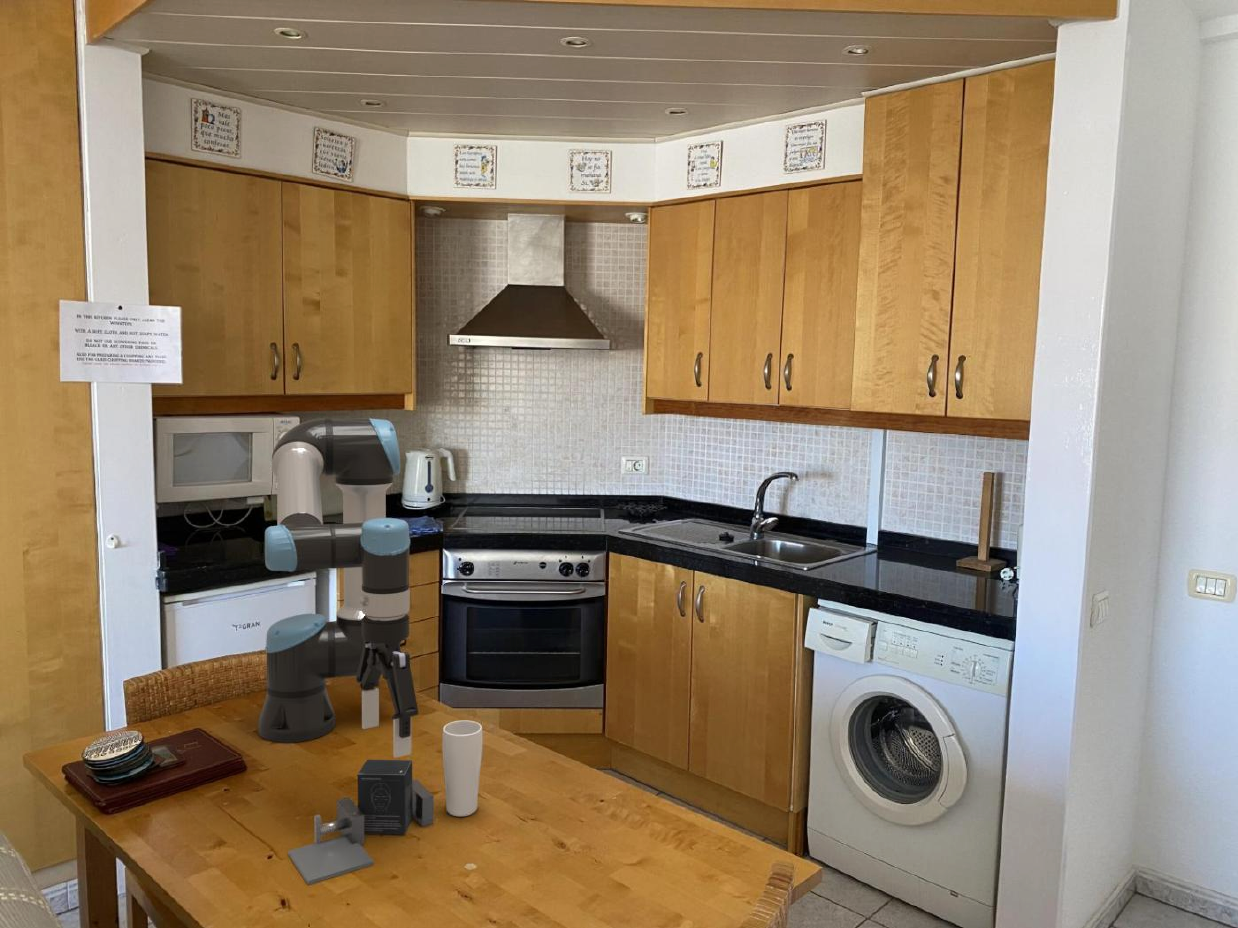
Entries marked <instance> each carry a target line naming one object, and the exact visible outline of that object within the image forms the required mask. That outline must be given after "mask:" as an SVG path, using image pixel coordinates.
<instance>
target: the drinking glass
mask: <svg viewBox="0 0 1238 928" xmlns="http://www.w3.org/2000/svg"><path fill="white" fill-rule="evenodd" d="M441 744H442V761H443V762H442V763H443V774H444V785H445V798H446V799H445V807H446V811H447V813H448V814H449V815H450V816H453V817H468V816H470V815H473V814H474V813H476V811H477V809H478V804H479V803H478V802H479V801H478V797H479V796H478V795H479V785H480V776H481V775H480V774H481V768H482V767H481V766H482V765H481V764H482V756H483V726H482V725H481V724H480V723H479V722H476V721H474V720H466V719H465V720H461V719H460V720H456V721H451V722H449V723H447V724H445V725H444V726H443V728H442V743H441Z"/></svg>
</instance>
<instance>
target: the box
mask: <svg viewBox="0 0 1238 928" xmlns="http://www.w3.org/2000/svg"><path fill="white" fill-rule="evenodd" d="M412 780H413V760H411V759H410V760H409V759H404V760H403V759H366V761H365V762H364V763H363V765H362V767H361V768H360V769H359V772H357V807H358V808H359V809H360V810H361V812H362V813H363V814H364V835H365V834H367V835H368V834H369V835H405V834H406V833H407V832H408V829H409V827H410V825H411V822H413V819H414V818H413V798H412V797H413V796H412Z"/></svg>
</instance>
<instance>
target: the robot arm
mask: <svg viewBox="0 0 1238 928" xmlns="http://www.w3.org/2000/svg"><path fill="white" fill-rule="evenodd" d="M271 469H272V472H273V474H274V476H275V478H277V480H276V482H277V486H276V487H277V492H276V493H277V495H276V497H277V498H276V500H277V502H276V504H277V508H276V509H277V513H276V515H277V516H276V522H277V525H273V526H272V525H271V526H269V527H267V528H266V529H265V531H264V561H265V562H264V563H265V567H266V568H267V570H270V571H271V572H272V571H273V572H279V571H281V572H282V571H283V572H290V573H291V572H296V571H310V570H311V571H312V570H313V571H314V570H325V569H326V570H328V569H330V570H331V569H343V605H342V606H341V607H340V608H339V609H338V610H337V611H336V613H335V614H336V620H335V621H327V619H326V617H325V615H323V614H321V613H302V614H298V615H297V614H296V615H292V616H288V617H285V618H283V619H280V620H278V621H276V622H275V623H273V624H272V625H270V626H269V628H268V630H267V631H266V641H265V642H266V643H265V644H266V645H265V648H264V649H265V650H264V651H265V653H266V696H265V701H264V703H263V706H262V708H261V709H262V710H261V713H260V715H259V719H258V723H257V724H258V728H257V729H258V730H257V732H258V735H259V736H260V737H261V738H262V739H264V740H267V741H269V742H275V743H300V742H306V741H310V740H315V739H318V738H320V737H323V736H325V735H327V734H329V733H330V732H332V730H334V728H335V726H336V714H335V711H334V708H333V705H332V702H331V701H330V697H329V694H328V690H327V679H335V678H336V679H337V678H345V677H346V678H347V677H355V678H356V679H355V680H356V683H358V684H359V683H360V684H359V687H360V689H361V728H362V729H363V730H365V729H371V728H376V727H379V726H380V688H378V687H380V686H381V683H380V681H379V680H380V678H381V676H382V678H383V680H385V681H386V684H387V686H388V690H389V694H390V697H391V698H390V699H391V702H392V706H393V710H394V714H393V715H392V716H391V718H392V722H393V723H392V725H393V726H392V728H393V729H392V730H393V733H392V734H393V737H392V739H393V742H392V743H393V744H392V747H393V749H392V750H393V753H392V755H393V756H392V757H394V758H399V757H404V756H408V755H412V717H415V716H418V715H419V708H418V703H417V698H416V696H417V695H416V691H415V685H414V682H413V681H414V680H413V675H412V674H413V673H412V670H411V657H410V653H409V651H407V652H402V651H401V643H402V642H403V641H405V640H407V639H408V638H409V636H410V616H409V614H408V613H409V612H410V609H411V607H410V606H411V605H410V604H411V603H410V602H411V601H410V597H411V596H410V594H411V593H410V583H409V582H410V546H411V538H410V526H409V524H408V522H407V521H405V520H404V519H399V518H392V517H387V515H386V513H387V512H386V511H387V508H386V507H387V505H386V500H387V499H386V498H387V497H386V495H387V490H388V489H389V488H390V487H391V486H392V485H393V484H394V476H398V475H400V473H401V455H400V448H399V442H398V437H397V433H396V428H395V427H394V425H393V423H392V422H391V421H389V420H387V419H379V418H378V419H377V418H371V417H370V418H315V419H310V420H309V419H308V420H306V421H304V422H301V423H299V424H297V425H295V426H294V427H292V428H291V429H289V430H288V431H287V432H286V433H285V434H284V435H282V436H281V438H280V439H279V440H278V442H277V443H276V445H275V446H274V448H273V452H272V455H271ZM320 476H334V477H335V478H334V479H335V481H334V482H335V483H334V484H335V486H336V487H338V488H339V489H340V490H341V492H342V498H343V499H342V506H343V508H342V512H343V513H342V514H343V515H342V519H343V522H342V523H326V524H324V522H323V510H322V509H323V508H322V498H321V497H322V496H321V482H320Z"/></svg>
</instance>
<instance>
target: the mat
mask: <svg viewBox="0 0 1238 928" xmlns="http://www.w3.org/2000/svg"><path fill="white" fill-rule="evenodd" d="M287 856H288V857H289V858H290V859H291V861H292V863H293V864H294V866H295V867H296V869H297V870H298V872H299V873H300V875H301V876H302V878H303V879H304V881H305V883H306V884H307V885H308V886H309V885H313V884H316V883H318V882H322V881H326V880H328V879H332V878H336V877H338V876H341V875H345V874H348V873H350V872H351V873H352V872H354V871H358V870H360V869H365V868H368V867H370V866H374V860H373V859H372V857H371V856H370V855H369V853H367V851H366V850H365V849H364V848H363V846H362V845H360V844H359V843H355V844H352V843H351V842H350V841H349V840H348V838H347V837H346V836H345V835H342V834H341V835H339V836H335V837H332V838H329V839H325V840H321V843H318V844H316V843H315V842H314V843H311V844H307V845H304V846H301V847H298V848H293V849H290V850H287Z"/></svg>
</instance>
